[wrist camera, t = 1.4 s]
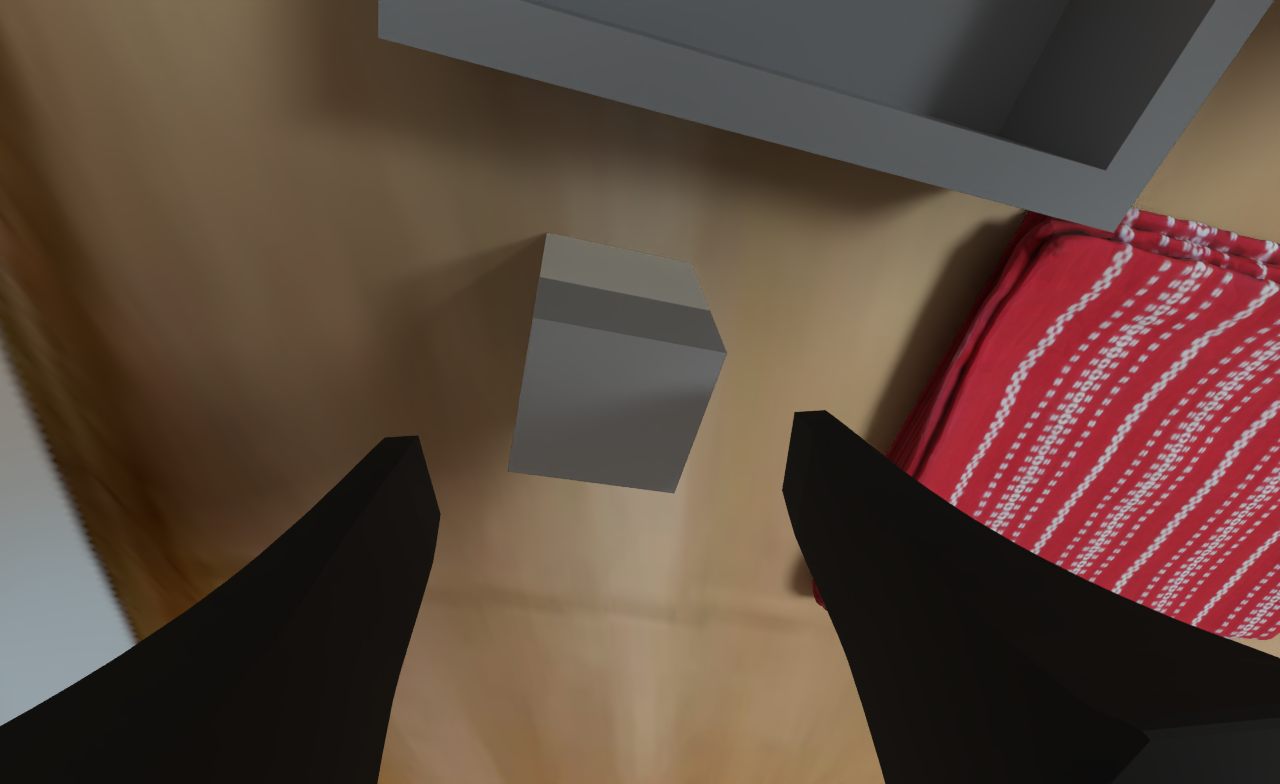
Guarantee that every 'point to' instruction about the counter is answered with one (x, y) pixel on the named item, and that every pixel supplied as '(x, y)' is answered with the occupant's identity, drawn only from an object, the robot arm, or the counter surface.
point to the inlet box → (886, 79)
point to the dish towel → (1121, 414)
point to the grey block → (614, 367)
